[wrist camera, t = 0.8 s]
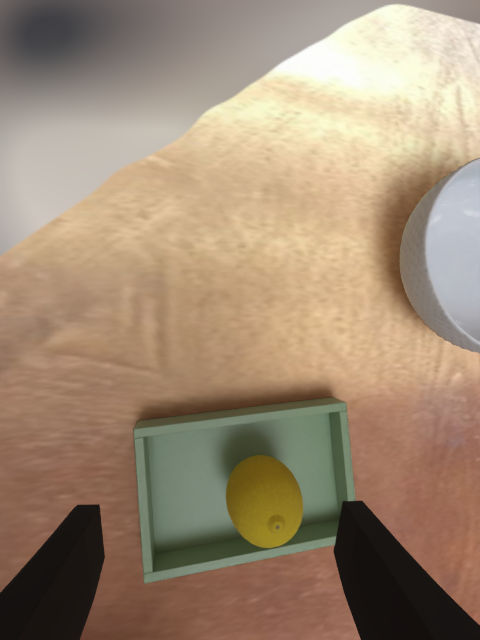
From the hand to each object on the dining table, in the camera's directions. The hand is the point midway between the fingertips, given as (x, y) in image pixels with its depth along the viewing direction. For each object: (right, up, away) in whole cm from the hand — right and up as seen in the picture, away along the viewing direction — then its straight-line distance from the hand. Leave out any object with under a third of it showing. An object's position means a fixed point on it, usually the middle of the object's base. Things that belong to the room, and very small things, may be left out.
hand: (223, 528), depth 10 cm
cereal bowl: (+22, +11, +23) cm, 34 cm away
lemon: (+2, -7, +19) cm, 20 cm away
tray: (+1, -7, +19) cm, 20 cm away
